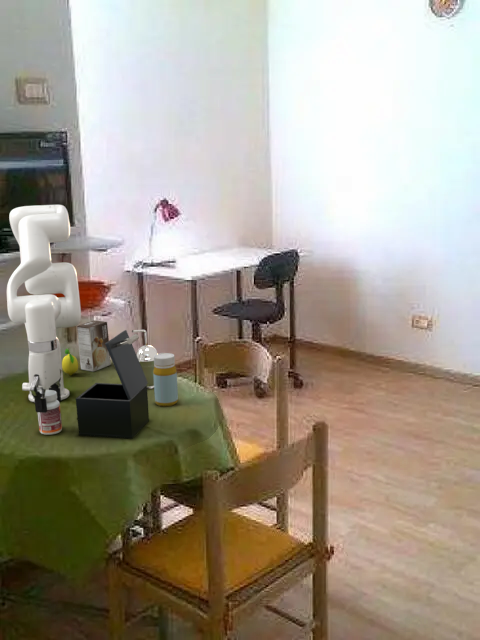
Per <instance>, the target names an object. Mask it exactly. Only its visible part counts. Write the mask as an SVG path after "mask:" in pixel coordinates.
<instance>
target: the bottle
mask: <svg viewBox="0 0 480 640" xmlns="http://www.w3.org/2000/svg"><path fill="white" fill-rule="evenodd" d="M175 360H176V358H175V354H174V353H171V352H160V353H158V354H156V355H155V356H154V366H155V367H154V370H153V376H154V388H153V393H154V403H155V404H156V405H157V406H160V407H171V406H174V405H176V404H177V403H178V401H179V392H178V390H179V389H178V374H177V373H178V372H177V368H176V361H175Z"/></svg>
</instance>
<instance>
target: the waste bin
mask: <svg viewBox="0 0 480 640" xmlns="http://www.w3.org/2000/svg"><path fill="white" fill-rule="evenodd" d="M148 393H149V392H148V389H147V385H146V386H145V387H143V388H142V389H141V390H140V391H139V392H138V393H137V394H136V395H135V396H134V397H133V398H132V399H130V400H128V398H127V395H126V393H125V391H124V388H123V386H122V383H109V382H108V383H107V382H95V383H94V384H92V385H91V386H90V387H89V388H87V389H86V390H85V391H83V392H82V393H81V394H79V395H78V396H77V397H76V398H75V406H76V419H77V432H78V436H80V437H92V438H93V437H94V438H95V437H96V438H111V439H125V440H126V439H129V440H133V439H134V438H135V437H136V436H137V435H138V434H139V432H141V430H142V429H143V428H145V426H146V425H147V424H148V423H149V422H150V410H149V395H148Z"/></svg>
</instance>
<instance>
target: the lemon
mask: <svg viewBox="0 0 480 640" xmlns="http://www.w3.org/2000/svg"><path fill="white" fill-rule="evenodd" d="M64 355H65V356H64V357H63V358H62V359H61V360H62V371H63V372H64V373H65V374H67V375H69V376H73V375H74V374H75V373H77V372H78V370H79V361H78V359H77V357H76V356H74V355H73V354H71V351H70V347H67V348H65V350H64Z"/></svg>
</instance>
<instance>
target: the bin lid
mask: <svg viewBox="0 0 480 640" xmlns="http://www.w3.org/2000/svg"><path fill="white" fill-rule="evenodd" d="M139 338H140V336H139V334H137V333H134V334H133V335H131V336H129V333H128V330H127V329H125V330H123V331H121V332H120V333H118V334H117V335H115V336H114V337H112V338H111V339H109V341H108V342H107V343H105V345H106V347H107V350H108V352H109V354H110V360H111V361H112V364H113V366H114V369H115V371H116V374H117V376H118V378H119V381H120V384H122V386H123V388H124V391H125V393H126V395H127V398H128V400H130V399H132V398H133V397H134V396H135V395H136V394H137V393H138V392H139V391H140V390H141V389H142V388H143V387H145V386H146V385H147V384H148V382H147V379H146V377H145V375H144V372H143V370H142V367H141V365H140V362H139V360H138V357H137V355H136V353H137V352H136V350H135V348H134V346H133V343H135V342H137V341H138V340H139Z"/></svg>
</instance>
